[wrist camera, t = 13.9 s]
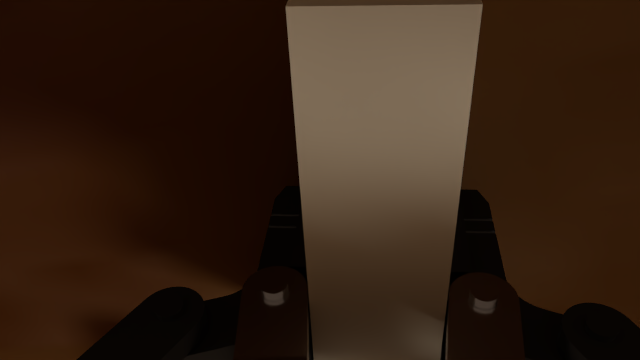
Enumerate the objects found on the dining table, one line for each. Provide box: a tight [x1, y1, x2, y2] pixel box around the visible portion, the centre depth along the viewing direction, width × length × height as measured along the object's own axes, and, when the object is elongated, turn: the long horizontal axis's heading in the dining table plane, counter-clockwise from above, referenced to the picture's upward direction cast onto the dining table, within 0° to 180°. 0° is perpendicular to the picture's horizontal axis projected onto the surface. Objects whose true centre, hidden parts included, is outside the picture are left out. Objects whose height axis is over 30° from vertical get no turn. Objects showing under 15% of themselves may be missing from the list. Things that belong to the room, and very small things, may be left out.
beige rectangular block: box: [286, 0, 483, 360], centre depth 12 cm, size 11×6×5 cm, turn 2°
